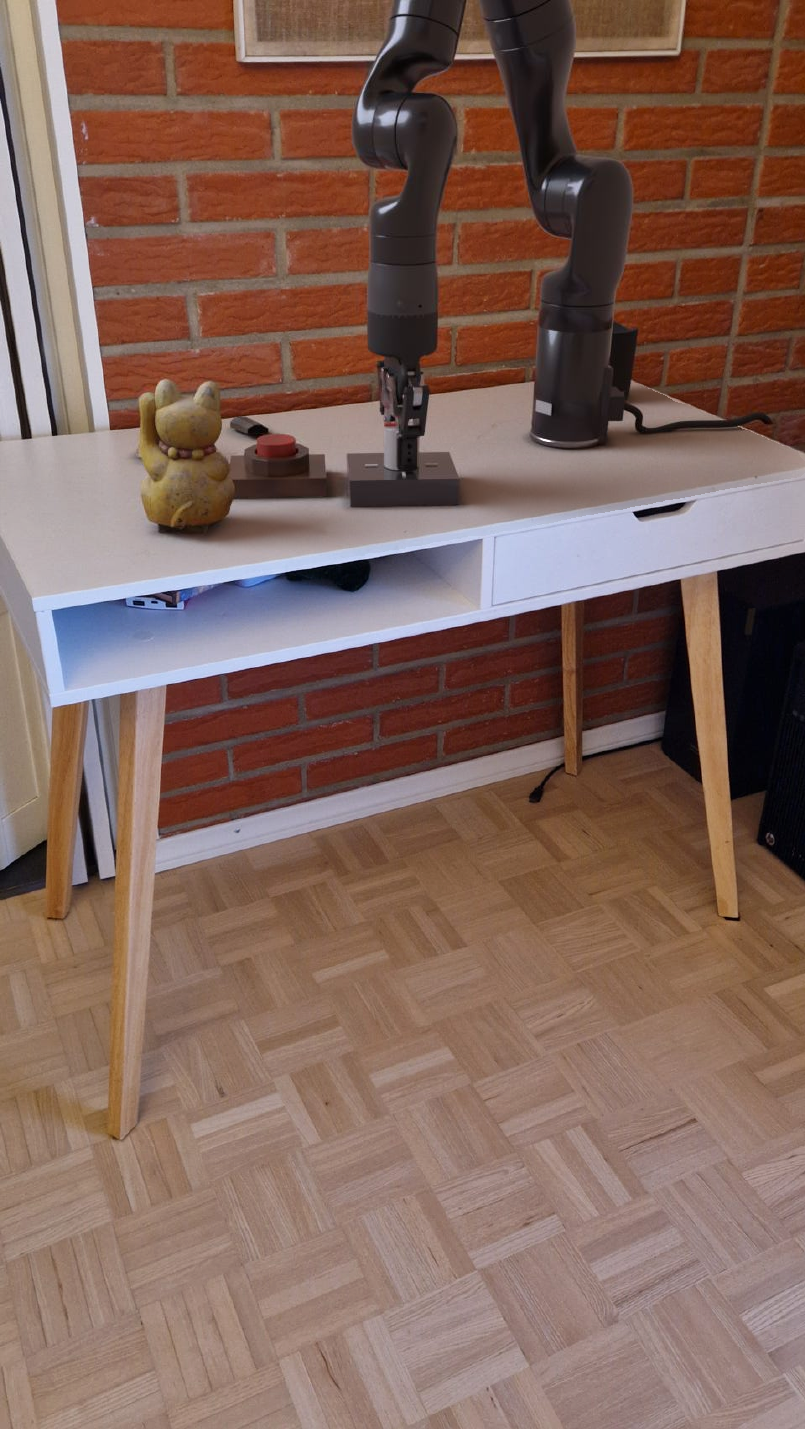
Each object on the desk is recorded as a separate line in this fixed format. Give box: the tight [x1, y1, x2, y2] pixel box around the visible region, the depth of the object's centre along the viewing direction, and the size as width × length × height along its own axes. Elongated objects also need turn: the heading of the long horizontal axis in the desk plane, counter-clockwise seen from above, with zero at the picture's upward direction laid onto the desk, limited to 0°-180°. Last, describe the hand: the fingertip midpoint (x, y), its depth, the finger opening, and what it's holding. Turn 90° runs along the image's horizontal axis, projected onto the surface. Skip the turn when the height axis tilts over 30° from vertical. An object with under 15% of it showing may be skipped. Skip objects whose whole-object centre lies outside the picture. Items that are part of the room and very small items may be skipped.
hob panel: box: [346, 451, 461, 508], centre depth 134 cm, size 12×10×3 cm
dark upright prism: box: [609, 320, 640, 401], centre depth 169 cm, size 9×9×10 cm
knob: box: [383, 420, 421, 470], centre depth 132 cm, size 4×4×5 cm
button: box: [256, 433, 297, 458], centre depth 134 cm, size 4×4×2 cm
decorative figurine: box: [138, 378, 235, 535], centre depth 120 cm, size 10×8×15 cm
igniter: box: [228, 442, 328, 499], centre depth 135 cm, size 11×9×4 cm
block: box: [229, 415, 269, 435], centre depth 154 cm, size 4×6×2 cm, turn 33°
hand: (401, 463), depth 133 cm, fingers closed on knob, 4 cm apart
